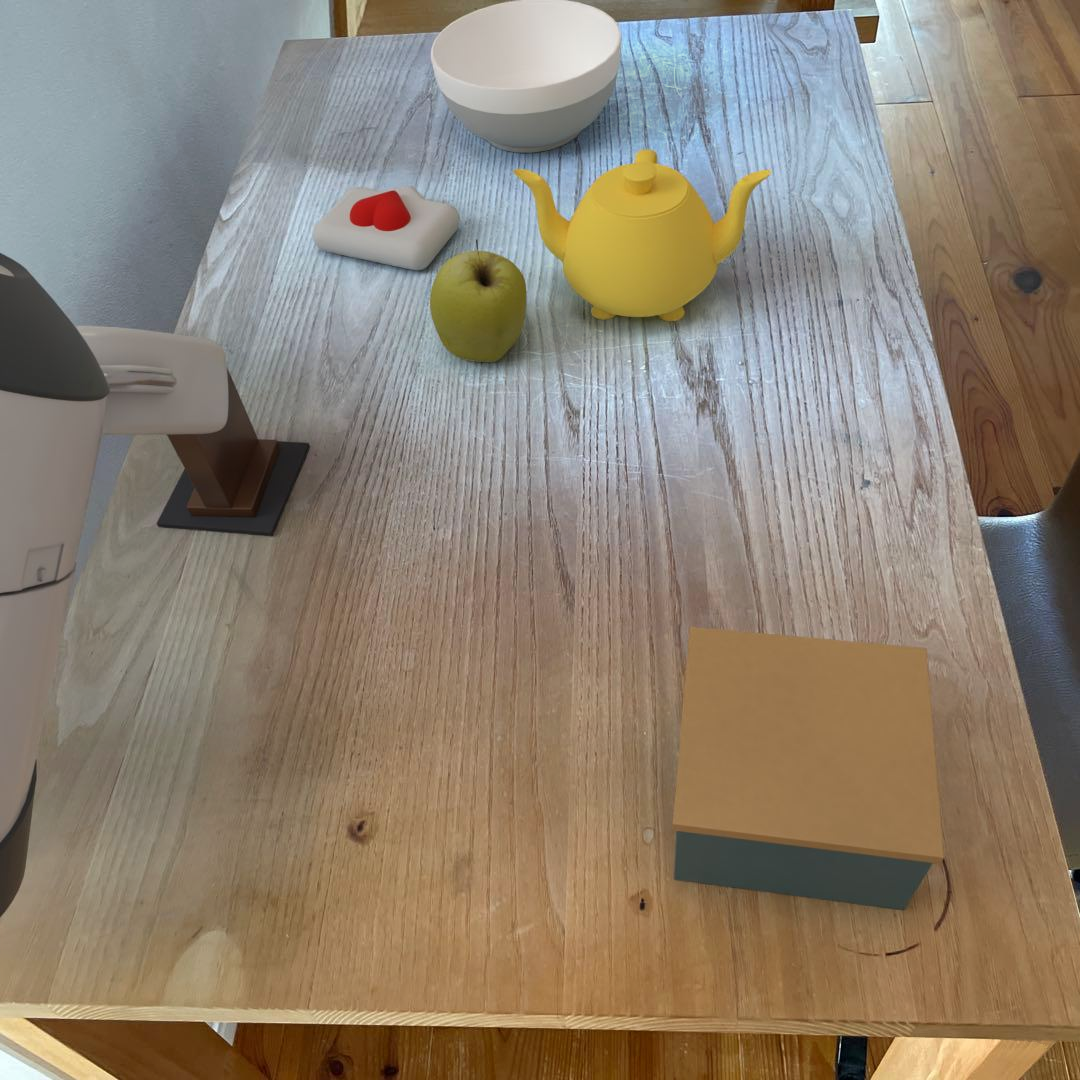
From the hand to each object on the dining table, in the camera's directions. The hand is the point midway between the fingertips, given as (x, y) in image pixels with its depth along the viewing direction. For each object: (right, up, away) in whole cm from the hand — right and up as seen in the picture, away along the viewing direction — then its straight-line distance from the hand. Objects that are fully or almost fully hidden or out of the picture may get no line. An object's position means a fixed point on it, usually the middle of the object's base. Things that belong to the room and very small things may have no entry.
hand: (67, 393), depth 45 cm
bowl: (+21, +37, +59) cm, 73 cm away
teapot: (+30, +15, +41) cm, 53 cm away
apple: (+17, +9, +38) cm, 42 cm away
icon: (+8, +22, +49) cm, 54 cm away
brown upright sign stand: (-1, -2, +30) cm, 30 cm away
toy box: (+36, -21, +11) cm, 43 cm away
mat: (-2, -3, +30) cm, 30 cm away
